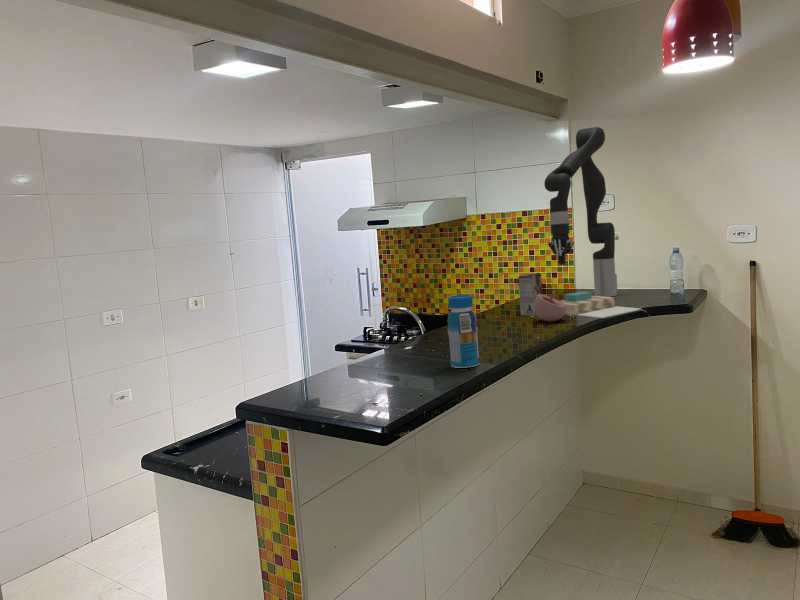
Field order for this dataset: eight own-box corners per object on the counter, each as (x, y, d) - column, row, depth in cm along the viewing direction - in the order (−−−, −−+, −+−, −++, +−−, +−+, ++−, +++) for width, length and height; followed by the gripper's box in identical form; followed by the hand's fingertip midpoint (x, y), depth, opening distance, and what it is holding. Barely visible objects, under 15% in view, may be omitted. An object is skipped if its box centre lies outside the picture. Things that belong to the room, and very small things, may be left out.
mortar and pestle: (566, 323, 221) (564, 292, 220) (532, 324, 225) (531, 294, 224) (568, 318, 233) (566, 288, 231) (536, 319, 237) (534, 289, 235)
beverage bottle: (445, 369, 171) (439, 298, 169) (458, 361, 178) (452, 294, 176) (472, 370, 167) (467, 298, 164) (485, 363, 174) (480, 293, 172)
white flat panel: (616, 307, 247) (616, 306, 247) (641, 309, 236) (641, 308, 236) (577, 315, 236) (577, 314, 236) (602, 318, 226) (602, 317, 226)
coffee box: (528, 311, 255) (526, 273, 253) (543, 311, 251) (541, 273, 249) (520, 315, 247) (517, 276, 245) (535, 315, 244) (532, 275, 242)
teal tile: (580, 297, 254) (580, 291, 254) (591, 298, 249) (591, 292, 249) (564, 300, 250) (564, 294, 250) (575, 301, 245) (575, 295, 244)
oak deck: (588, 304, 260) (587, 295, 259) (614, 307, 248) (614, 297, 247) (549, 312, 249) (549, 302, 248) (575, 315, 237) (575, 305, 236)
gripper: (578, 221, 249) (580, 263, 251) (554, 222, 260) (556, 263, 262) (564, 222, 245) (567, 265, 247) (541, 224, 256) (543, 265, 258)
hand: (561, 264), depth 255 cm, fingers closed
